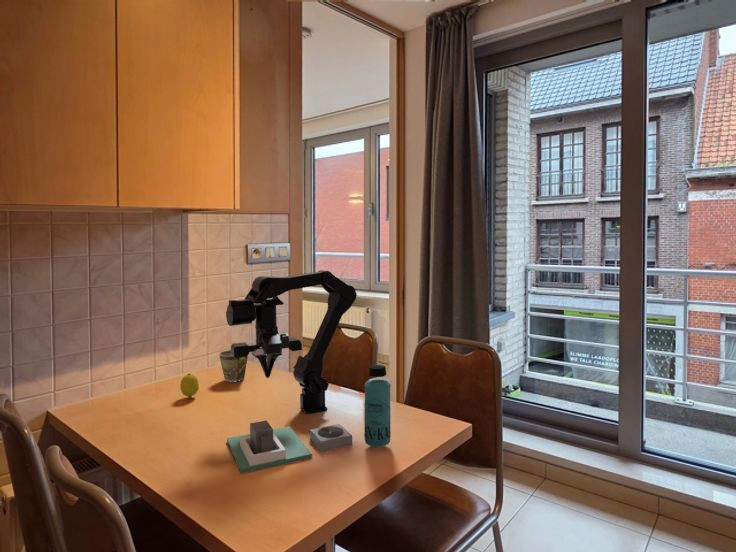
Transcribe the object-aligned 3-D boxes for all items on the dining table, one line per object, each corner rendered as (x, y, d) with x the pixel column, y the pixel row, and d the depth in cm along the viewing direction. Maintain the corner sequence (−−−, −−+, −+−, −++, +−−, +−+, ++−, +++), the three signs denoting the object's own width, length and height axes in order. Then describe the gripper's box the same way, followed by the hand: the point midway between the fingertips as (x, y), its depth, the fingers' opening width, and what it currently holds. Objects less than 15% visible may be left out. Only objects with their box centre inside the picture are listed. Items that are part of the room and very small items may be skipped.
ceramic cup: (214, 380, 170) (213, 353, 169) (239, 374, 177) (238, 348, 177) (234, 387, 161) (233, 358, 161) (259, 380, 169) (258, 353, 168)
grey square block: (339, 433, 122) (339, 423, 122) (352, 445, 115) (352, 434, 115) (310, 439, 119) (310, 428, 118) (321, 451, 111) (321, 440, 111)
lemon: (202, 395, 153) (201, 371, 152) (191, 401, 148) (190, 376, 147) (188, 394, 155) (187, 370, 154) (176, 399, 149) (175, 375, 149)
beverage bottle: (363, 442, 116) (362, 362, 115) (389, 441, 117) (389, 361, 116) (365, 454, 110) (364, 370, 108) (393, 452, 111) (392, 369, 109)
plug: (267, 444, 113) (266, 420, 113) (274, 456, 107) (274, 430, 107) (250, 448, 112) (249, 423, 111) (257, 460, 105) (256, 434, 105)
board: (289, 430, 124) (289, 419, 124) (312, 457, 108) (311, 445, 108) (227, 441, 117) (226, 430, 117) (241, 473, 101) (241, 460, 101)
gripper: (237, 330, 119) (239, 390, 120) (307, 323, 127) (308, 380, 128) (229, 323, 129) (231, 379, 130) (295, 317, 137) (296, 370, 138)
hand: (267, 377), depth 131 cm, fingers closed
